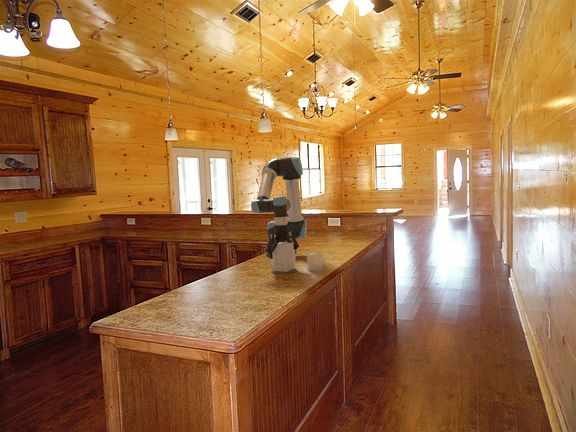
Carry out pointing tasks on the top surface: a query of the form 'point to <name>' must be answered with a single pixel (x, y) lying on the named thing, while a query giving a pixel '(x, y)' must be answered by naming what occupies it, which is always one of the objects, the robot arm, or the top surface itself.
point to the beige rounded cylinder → (314, 262)
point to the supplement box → (284, 257)
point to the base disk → (284, 272)
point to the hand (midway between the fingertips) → (283, 262)
